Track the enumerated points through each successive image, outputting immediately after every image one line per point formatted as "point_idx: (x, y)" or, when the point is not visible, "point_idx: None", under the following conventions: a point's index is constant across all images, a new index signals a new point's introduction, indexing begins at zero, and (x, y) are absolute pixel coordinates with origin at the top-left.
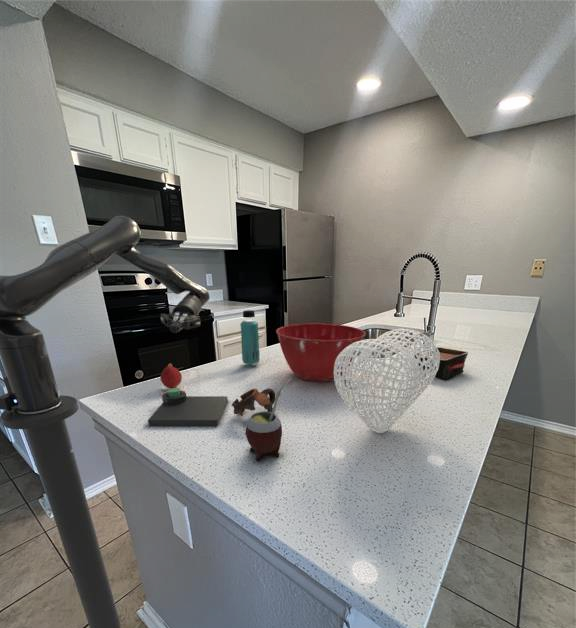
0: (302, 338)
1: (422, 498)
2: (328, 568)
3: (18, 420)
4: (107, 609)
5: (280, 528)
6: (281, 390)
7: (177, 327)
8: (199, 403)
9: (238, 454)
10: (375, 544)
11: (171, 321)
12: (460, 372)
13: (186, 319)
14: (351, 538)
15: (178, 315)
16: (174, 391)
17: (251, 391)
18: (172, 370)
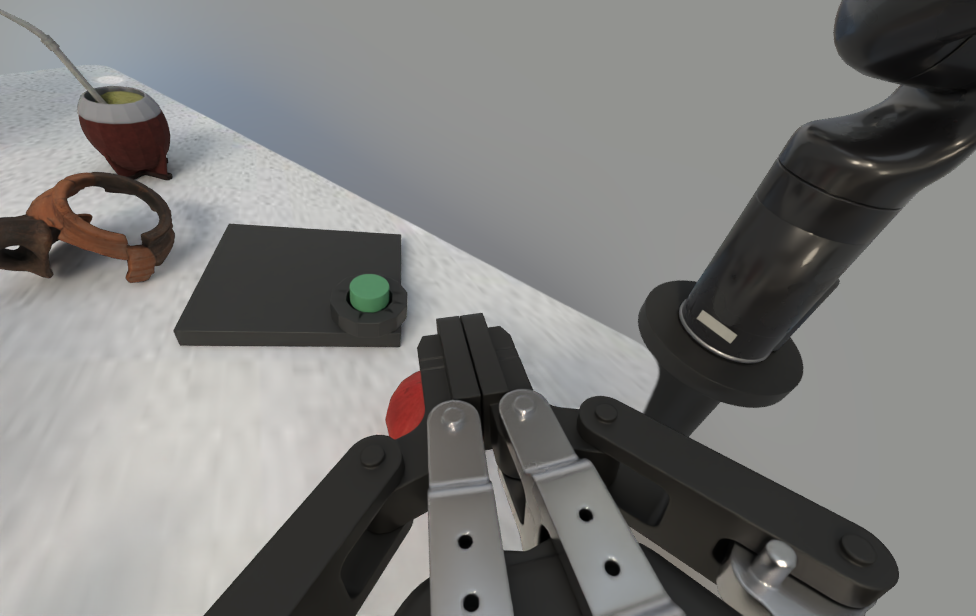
0: None
1: None
2: (144, 85)
3: (688, 284)
4: None
5: (174, 105)
6: (37, 33)
7: (432, 337)
8: (282, 289)
9: (198, 175)
10: (75, 86)
11: (565, 422)
12: None
13: (413, 593)
14: None
15: (569, 558)
16: (363, 278)
17: (75, 216)
18: (419, 374)
